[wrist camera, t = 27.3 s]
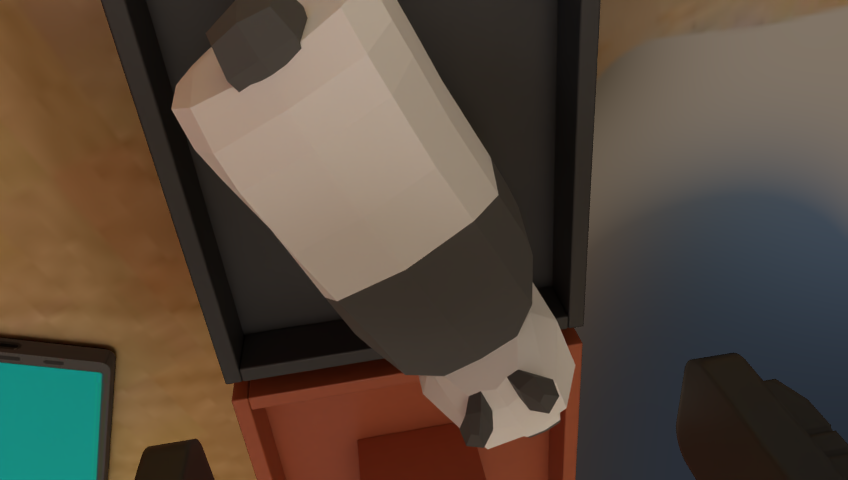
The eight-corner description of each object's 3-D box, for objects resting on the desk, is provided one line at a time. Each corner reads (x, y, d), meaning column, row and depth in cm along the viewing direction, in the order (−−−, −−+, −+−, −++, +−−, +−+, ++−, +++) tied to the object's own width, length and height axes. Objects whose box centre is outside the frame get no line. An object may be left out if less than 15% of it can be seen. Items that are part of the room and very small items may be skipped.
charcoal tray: (571, -146, 19) (609, -145, 17) (559, 284, 27) (584, 326, 24) (102, -97, 18) (70, -90, 16) (233, 335, 26) (225, 385, 23)
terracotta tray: (559, 300, 27) (583, 343, 25) (553, 528, 35) (570, 578, 33) (238, 351, 26) (230, 401, 24) (306, 575, 34) (305, 629, 32)
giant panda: (178, 12, 19) (77, 135, 11) (339, -100, 18) (363, -59, 10) (433, 335, 26) (487, 554, 18) (555, 266, 25) (671, 462, 17)
